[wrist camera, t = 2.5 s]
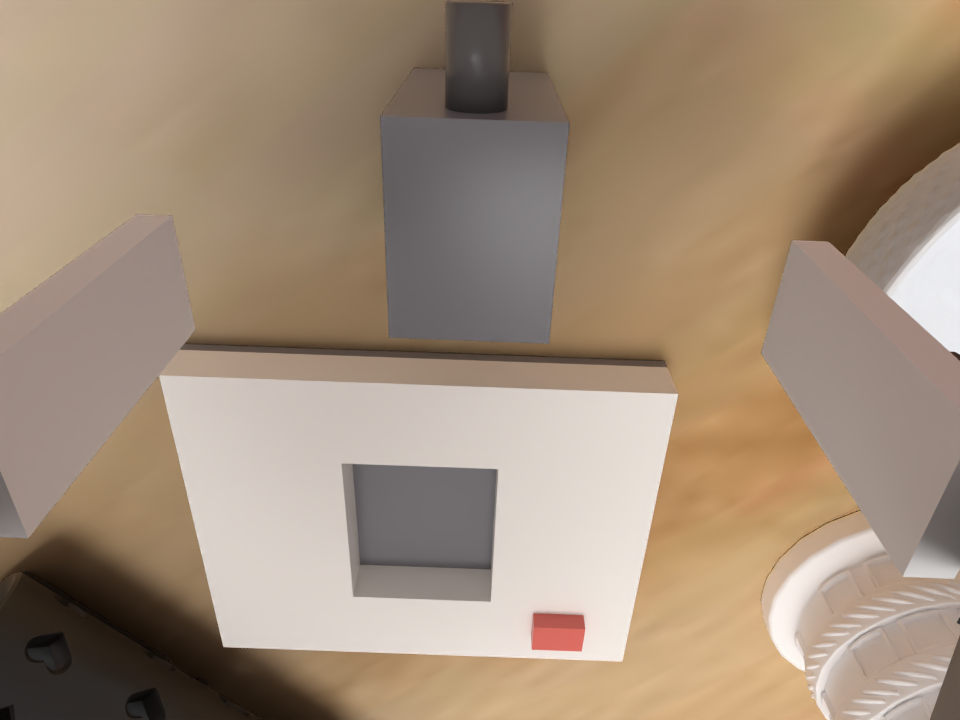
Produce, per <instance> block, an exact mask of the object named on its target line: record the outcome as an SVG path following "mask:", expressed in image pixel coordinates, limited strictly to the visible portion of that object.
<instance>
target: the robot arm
mask: <svg viewBox="0 0 960 720" xmlns="http://www.w3.org/2000/svg"><path fill="white" fill-rule="evenodd" d="M194 331H195V325H194V320H193V315H192V310H191V305H190V300H189V295H188V290H187V286H186V281H185V276H184V271H183V266H182V261H181V256H180V251H179V246H178V241H177V236H176V231H175V226H174V221H173V216H172V215H148V214H136V215H134V216H133V217H132V218H130V219H129V220H128V221H126V222H125V223H124V224H122V225H121V226H119V227H118V228H117V229H115V230H114V231H113V232H111V233H110V234H108V235H107V236H106V237H104V238H103V239H102V240H100V241H99V242H98V243H96V244H95V245H93V246H92V247H91V248H89V249H88V250H87V251H85V252H84V253H82V254H81V255H80V256H78V257H77V258H76V259H74V260H73V261H72V262H70V263H69V264H67V265H66V266H65V267H63V268H62V269H61V270H59V271H58V272H57V273H55V274H54V275H52V276H51V277H50V278H48V279H47V280H46V281H44V282H43V283H41V284H40V285H39V286H37V287H36V288H35V289H33V290H32V291H31V292H29V293H28V294H26V295H25V296H24V297H22V298H21V299H20V300H18V301H17V302H15V303H14V304H13V305H11V306H10V307H9V308H7V309H6V310H5V311H3V312H2V313H0V537H10V538H29V537H30V536H31V534H32V533H33V532H34V531H35V529H36V528H37V527H38V526H39V524H40V523H41V522H42V521H43V519H44V518H45V517H46V516H47V514H48V513H49V512H50V511H51V509H52V508H53V507H54V506H55V504H56V503H57V502H58V501H59V499H60V498H61V497H62V496H63V494H64V493H65V492H66V491H67V489H68V488H69V487H70V486H71V484H72V483H73V482H74V481H75V479H76V478H77V477H78V476H79V474H80V473H81V472H82V471H83V469H84V468H85V467H86V466H87V464H88V463H89V462H90V461H91V459H92V458H93V457H94V456H95V454H96V453H97V452H98V451H99V449H100V448H101V447H102V446H103V444H104V443H105V442H106V441H107V439H108V438H109V437H110V436H111V434H112V433H113V432H114V431H115V429H116V428H117V427H118V426H119V425H120V423H121V422H122V421H123V420H124V418H125V417H126V416H127V415H128V413H129V412H130V411H131V410H132V408H133V407H134V406H135V405H136V403H137V402H138V401H139V400H140V398H141V397H142V396H143V395H144V393H145V392H146V391H147V390H148V388H149V387H150V386H151V385H152V383H153V382H154V381H155V380H156V378H157V377H158V376H159V375H160V373H161V372H162V371H163V370H164V368H165V367H166V366H167V365H168V363H169V362H170V361H171V360H172V358H173V357H174V356H175V355H176V353H177V352H178V351H179V350H180V348H181V347H182V346H183V345H184V343H185V342H186V341H187V340H188V338H189V337H190V336H191V335H192V333H193V332H194ZM761 354H762V355H763V357H764V359H765V360H766V362H767V363H768V365H769V366H770V368H771V370H772V371H773V373H774V374H775V376H776V378H777V379H778V381H779V382H780V384H781V385H782V387H783V389H784V390H785V392H786V393H787V395H788V396H789V398H790V400H791V401H792V403H793V404H794V406H795V408H796V409H797V411H798V412H799V414H800V415H801V417H802V419H803V420H804V422H805V423H806V425H807V427H808V428H809V430H810V431H811V433H812V434H813V436H814V438H815V439H816V441H817V442H818V444H819V445H820V447H821V449H822V450H823V452H824V453H825V455H826V457H827V458H828V460H829V461H830V463H831V464H832V466H833V468H834V469H835V471H836V472H837V474H838V475H839V477H840V479H841V480H842V482H843V483H844V485H845V487H846V488H847V490H848V491H849V493H850V494H851V496H852V498H853V499H854V501H855V502H856V504H857V506H858V507H859V509H860V510H861V512H862V513H863V515H864V517H865V518H866V520H867V521H868V523H869V524H870V526H871V528H872V529H873V531H874V532H875V534H876V536H877V537H878V539H879V540H880V542H881V543H882V545H883V547H884V548H885V550H886V551H887V553H888V555H889V556H890V558H891V559H892V561H893V562H894V564H895V566H896V567H897V569H898V570H899V572H900V573H901V575H902V577H921V578H943V579H954V578H955V577H956V575H957V573H958V571H959V569H960V354H958V353H956V352H950V351H948V350H947V349H946V348H945V347H944V346H943V345H942V344H941V343H940V342H939V341H937V340H936V339H935V338H934V337H933V336H932V335H931V334H930V333H929V332H928V331H926V330H925V329H924V328H923V327H922V326H921V325H920V324H919V323H918V322H917V321H915V320H914V319H913V318H912V317H911V316H910V315H909V314H908V313H907V312H906V311H904V310H903V309H902V308H901V307H900V306H899V305H898V304H897V303H896V302H895V301H893V300H892V299H891V298H890V297H889V296H888V295H887V294H886V293H885V292H884V291H882V290H881V289H880V288H879V287H878V286H877V285H876V284H875V283H874V282H873V281H871V280H870V279H869V278H868V277H867V276H866V275H865V274H864V273H863V272H862V271H860V270H859V269H858V268H857V267H856V266H855V265H854V264H853V263H852V262H851V261H849V260H848V259H847V258H846V257H845V256H844V255H843V254H842V253H841V252H840V251H838V250H837V249H836V248H835V247H834V246H833V245H832V244H831V243H830V242H828V241H803V240H792V242H791V246H790V250H789V253H788V257H787V260H786V264H785V268H784V271H783V275H782V279H781V282H780V286H779V290H778V293H777V297H776V300H775V304H774V308H773V311H772V315H771V319H770V322H769V326H768V330H767V333H766V337H765V340H764V344H763V348H762V351H761ZM957 623H958V624H960V617H959V619H958V621H957ZM930 720H960V636H959V639H958V641H957V644H956V647H955V650H954V653H953V656H952V658H951V661H950V664H949V667H948V670H947V672H946V675H945V678H944V681H943V684H942V687H941V689H940V692H939V695H938V698H937V701H936V703H935V706H934V709H933V712H932V715H931V717H930Z"/></svg>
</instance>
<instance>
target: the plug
mask: <svg viewBox="0 0 960 720" xmlns="http://www.w3.org/2000/svg"><path fill="white" fill-rule="evenodd" d="M512 6H513V3H510V2H502V1H487V0H447V1H446V32H445V69H430V68H414V69H413V70H412V71H411V73H410V74H409V76H408V77H407V79H406V80H405V81H404V83H403V84H402V86H401V87H400V88H399V90H398V91H397V93H396V94H395V96H394V97H393V98H392V100H391V101H390V103H389V104H388V106H387V107H386V108H385V110H384V111H383V113H382V114H381V116H380V123H381V149H382V174H383V199H384V224H385V249H386V275H387V300H388V325H389V338H409V339H436V340H464V341H491V342H519V343H546V344H549V338H550V327H551V316H552V305H553V295H554V284H555V273H556V262H557V252H558V241H559V230H560V219H561V209H562V198H563V187H564V176H565V166H566V155H567V144H568V133H569V121H568V118H567V116H566V114H565V111H564V109H563V107H562V105H561V102H560V100H559V98H558V95H557V93H556V91H555V89H554V86H553V84H552V82H551V80H550V77H549V75H548V73H541V72H513V71H509V68H510V47H511V27H512Z"/></svg>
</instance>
